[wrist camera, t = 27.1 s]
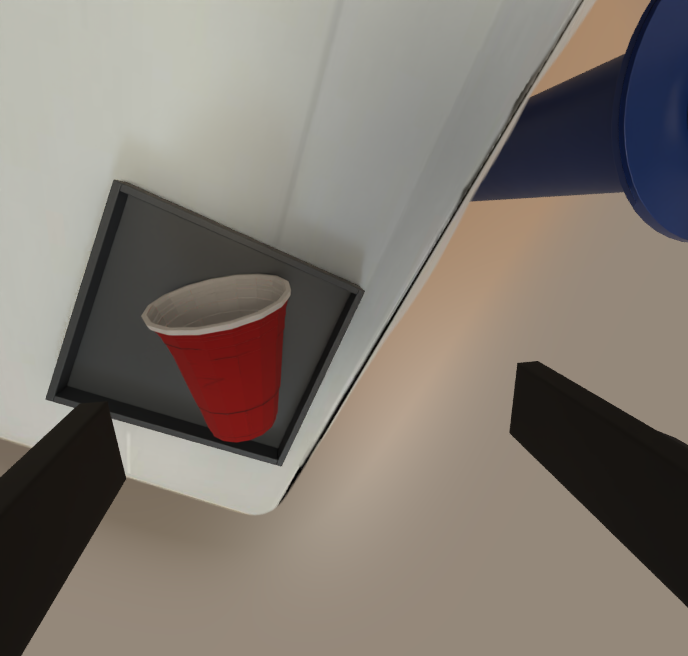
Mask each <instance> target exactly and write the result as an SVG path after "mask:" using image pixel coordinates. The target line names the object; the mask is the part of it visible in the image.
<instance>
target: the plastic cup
mask: <svg viewBox="0 0 688 656" xmlns="http://www.w3.org/2000/svg"><path fill="white" fill-rule="evenodd" d="M290 295H291V288H290V285H289V282H288V281H287V280H285V279H283V278H281V277H278V276H275V275H267V274H259V273H258V274H236V275H230V276H224V277H218V278H212V279H208V280H204V281H201V282H197V283H193V284H190V285H186V286H184V287H181V288H179V289H176V290H174V291H172V292H169V293H167V294H164V295H163V296H161V297H160V298H158V299H157V300H155V301H154V302H152V303H151V304H149V305H148V306H147V308H146V309H145V311H144V312H143V314H142V315H141V317H142V319H143V320H144V322H145V324H146V325H147V327H148V328H149V329H150V330H152V331H155V333H157V334H158V336H160V337H161V339H162V340H163V342H164V344H166V346H167V347H168V349H169V351H170V352H171V354H172V355H173V357H174V359H175V361H176V363H177V365H178V367H179V369H180V372H181V374H182V376H183V378H184V380H185V382H186V384H187V386H188V388H189V390H190V392H191V394H192V396H193V398H194V400H195V402H196V403H197V405H198V407H199V408H200V411H201V413H202V415H203V417H204V419H205V422H206V424H207V426H208V427H209V429H210V431H211V432H212V433H213V435H214V436H215V437H217V438H218V439H220V440H222V441H227V442H242V441H248V440H252V439H254V438H256V437H258V436H261V435H263V434H264V433H265V432H266V431H268V430H269V429H270V428H271V427H272V426H273V424H274V422H275V420H276V415H277V413H278V398H279V388H280V384H281V366H282V347H283V330H284V328H285V316H286V306H287V301H288V298H289V297H290Z"/></svg>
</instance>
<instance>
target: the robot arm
mask: <svg viewBox="0 0 688 656" xmlns="http://www.w3.org/2000/svg"><path fill="white" fill-rule="evenodd" d="M687 123H688V110H687ZM510 434H511V435H512V436H513V437H514V438H515V439H516V440H517V441H518V442H519V443H521V445H522V446H523V447H524V448H525V449H526V450H527V451H528V452H529V453H530V454H531V455H532V456H533V457H534V458H536V459H537V460H538V461H539V462H540V463H541V464H542V465H543V466H544V467H545V468H546V469H547V470H548V471H549V472H550V473H551V474H552V475H553V476H554V477H555V478H556V479H557V480H558V481H559V482H560V483H561V484H562V485H563V486H565V488H566V489H567V490H568V491H569V492H570V493H571V494H572V495H573V496H574V497H575V498H576V499H577V500H578V501H579V502H581V503H582V504H583V505H584V506H585V507H586V508H587V509H588V510H589V511H590V512H591V513H592V514H593V515H594V516H595V517H596V518H597V519H598V520H599V521H600V522H601V523H602V524H603V525H604V526H605V527H606V528H607V529H608V530H609V531H610V532H611V533H612V534H613V535H614V536H615V537H616V538H617V539H618V540H619V541H620V542H621V543H623V544H624V546H626V547H627V548H628V549H629V550H630V551H631V552H632V553H633V554H634V555H635V556H636V557H637V558H638V559H639V560H640V561H641V562H642V563H643V564H644V565H645V566H646V567H647V568H648V569H649V570H650V571H651V572H652V573H653V574H654V575H655V576H656V577H657V578H658V579H659V580H660V581H661V582H662V583H663V584H664V585H666V587H668V589H670V590H671V591H672V592H673V593H674V594H675V595H676V596H677V597H678V598H679V599H680V600H681V601H682V602H683V603H684V604H685V605H686V606H687V607H688V445H687V444H685V443H683V442H682V441H680V440H678V439H676V438H674V437H672V436H669V435H667V434H664V433H662V432H659V431H657V430H655V429H653V428H651V427H650V426H648V425H646V424H645V423H643V422H641V421H640V420H638V419H636V418H634V417H633V416H631V415H629V414H627V413H626V412H624V411H622V410H621V409H619V408H617V407H616V406H614V405H612V404H610V403H609V402H607V401H605V400H604V399H602V398H600V397H598V396H597V395H595V394H593V393H592V392H590V391H588V390H587V389H585V388H583V387H581V386H580V385H578V384H576V383H575V382H573V381H571V380H569V379H567V378H566V377H564V376H563V375H561V374H559V373H557V372H556V371H554V370H552V369H551V368H549V367H547V366H545V365H543V364H542V363H540V362H538V361H534V362H523V363H517V371H516V380H515V389H514V398H513V407H512V415H511V424H510ZM125 480H126V476H125V472H124V468H123V464H122V459H121V455H120V451H119V447H118V443H117V439H116V435H115V431H114V426H113V422H112V418H111V414H110V410H109V406H108V402H107V401H104V402H93V403H82V404H79V405H78V406H76V407H75V408H74V409H73V410H72V411H71V412H70V413H69V414H68V415H67V416H66V417H65V418H64V419H62V420H61V421H60V422H59V423H58V424H57V425H56V426H55V427H54V428H53V429H52V430H51V431H50V432H49V433H47V434H46V435H45V436H44V437H43V438H42V439H41V440H40V441H39V442H38V443H37V444H36V445H35V446H34V447H32V448H31V449H30V450H29V451H28V452H27V453H26V454H25V455H24V456H23V457H22V458H21V459H20V460H18V461H17V462H16V463H15V464H14V465H13V466H12V467H11V468H10V469H9V470H8V471H7V472H6V473H5V474H3V475H2V477H0V656H21V655H22V653H23V652H24V650H25V648H26V646H27V645H28V643H29V642H30V640H31V638H32V637H33V635H34V633H35V632H36V630H37V628H38V626H39V625H40V623H41V621H42V620H43V618H44V616H45V615H46V613H47V611H48V610H49V608H50V606H51V604H52V603H53V601H54V599H55V598H56V596H57V594H58V592H59V591H60V589H61V588H62V586H63V584H64V583H65V581H66V579H67V578H68V576H69V574H70V572H71V571H72V569H73V568H74V566H75V564H76V562H77V561H78V559H79V557H80V556H81V554H82V552H83V551H84V549H85V547H86V546H87V544H88V542H89V541H90V539H91V537H92V535H93V534H94V532H95V531H96V529H97V527H98V525H99V524H100V522H101V520H102V519H103V517H104V515H105V514H106V512H107V510H108V509H109V507H110V505H111V504H112V502H113V500H114V499H115V497H116V495H117V494H118V492H119V490H120V488H121V487H122V485H123V483H124V482H125Z"/></svg>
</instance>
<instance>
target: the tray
mask: <svg viewBox="0 0 688 656" xmlns="http://www.w3.org/2000/svg"><path fill="white" fill-rule="evenodd" d="M258 273H259V274H267V275H275V276H278V277H281V278H283V279H285V280H287V281H288V282H289V285H290V288H291V295H290V297H289V298H288V301H287V306H286V316H285V328H284V330H283V347H282V366H281V384H280V388H279V398H278V413H277V415H276V420H275V422H274V424H273V426H272V427H271V428H270V429H269V430H268V431H266V432H265V433H264V434H263V435H261V436H258V437H256V438H254V439H252V440H248V441H242V442H227V441H222V440H220V439H218V438H217V437H215V436H214V435H213V433H212V432H211V431H210V429H209V427H208V426H207V424H206V422H205V419H204V417H203V415H202V413H201V411H200V408H199V407H198V405H197V403H196V402H195V400H194V398H193V396H192V394H191V392H190V390H189V388H188V386H187V384H186V382H185V380H184V378H183V376H182V374H181V372H180V369H179V367H178V365H177V363H176V361H175V359H174V357H173V355H172V354H171V352H170V351H169V349H168V347H167V346H166V344H164V342H163V340H162V339H161V337H160V336H158V334H157V333H155V331H152V330H150V329H149V328H148V327H147V325H146V324H145V322H144V320H143V319H142V317H141V315H142V314H143V312H144V311H145V309H146V308H147V306H148V305H149V304H151V303H152V302H154V301H155V300H157V299H158V298H160V297H161V296H163V295H164V294H167V293H169V292H172V291H174V290H176V289H179V288H181V287H184V286H186V285H190V284H193V283H197V282H201V281H204V280H208V279H212V278H218V277H224V276H230V275H236V274H258ZM364 292H365V291H364V290H363V289H362V288H361V287H360V286H358V285H356V284H354V283H351V282H349V281H347V280H345V279H342V278H340V277H338V276H336V275H334V274H331V273H329V272H327V271H325V270H322V269H320V268H318V267H316V266H313V265H311V264H309V263H307V262H304V261H302V260H300V259H298V258H295V257H293V256H291V255H289V254H287V253H284V252H282V251H280V250H278V249H275V248H273V247H271V246H269V245H266V244H264V243H262V242H260V241H257V240H255V239H253V238H251V237H248V236H246V235H244V234H242V233H239V232H237V231H235V230H233V229H231V228H228V227H226V226H224V225H222V224H219V223H217V222H215V221H213V220H210V219H208V218H206V217H204V216H201V215H199V214H197V213H195V212H192V211H190V210H188V209H186V208H184V207H181V206H179V205H177V204H175V203H172V202H170V201H168V200H166V199H163V198H161V197H159V196H157V195H154V194H152V193H150V192H148V191H145V190H143V189H141V188H139V187H137V186H134V185H132V184H130V183H128V182H123V181H118V180H113V183H112V187H111V190H110V193H109V196H108V200H107V203H106V206H105V209H104V212H103V216H102V219H101V222H100V225H99V229H98V232H97V235H96V238H95V241H94V245H93V248H92V251H91V254H90V257H89V261H88V264H87V267H86V270H85V274H84V277H83V280H82V283H81V286H80V290H79V293H78V296H77V299H76V303H75V306H74V309H73V312H72V315H71V319H70V322H69V325H68V328H67V331H66V335H65V338H64V341H63V344H62V348H61V351H60V354H59V357H58V360H57V364H56V367H55V370H54V373H53V376H52V380H51V383H50V386H49V389H48V393H47V396H46V400H49V401H53V402H56V403H59V404H63V405H66V406H70V407H73V408H75V407H76V406H78V405H79V404H82V403H93V402H104V401H107V402H108V406H109V410H110V414H111V418H112V419H116V420H119V421H123V422H126V423H130V424H133V425H137V426H140V427H144V428H147V429H151V430H154V431H158V432H162V433H165V434H169V435H172V436H176V437H179V438H183V439H186V440H190V441H193V442H197V443H200V444H204V445H207V446H211V447H214V448H218V449H221V450H225V451H228V452H232V453H235V454H239V455H242V456H246V457H250V458H253V459H257V460H260V461H264V462H267V463H271V464H274V465H278V466H282V464H283V462H284V460H285V458H286V456H287V454H288V452H289V450H290V448H291V445H292V443H293V441H294V439H295V437H296V435H297V433H298V431H299V429H300V427H301V424H302V422H303V420H304V418H305V416H306V414H307V412H308V410H309V408H310V406H311V403H312V401H313V399H314V397H315V395H316V393H317V391H318V389H319V387H320V385H321V382H322V380H323V378H324V376H325V374H326V372H327V370H328V368H329V366H330V364H331V361H332V359H333V357H334V355H335V353H336V351H337V349H338V347H339V345H340V343H341V340H342V338H343V336H344V334H345V332H346V330H347V328H348V326H349V324H350V322H351V320H352V317H353V315H354V313H355V311H356V309H357V307H358V305H359V303H360V301H361V299H362V296H363V294H364Z"/></svg>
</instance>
